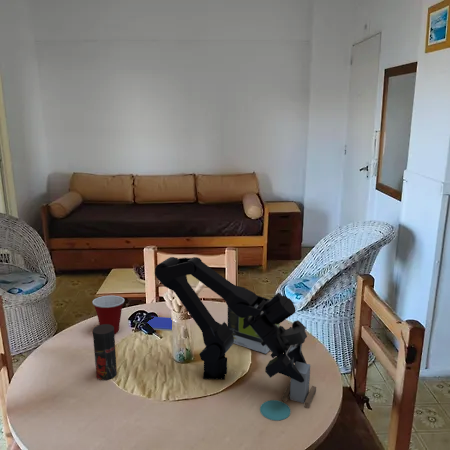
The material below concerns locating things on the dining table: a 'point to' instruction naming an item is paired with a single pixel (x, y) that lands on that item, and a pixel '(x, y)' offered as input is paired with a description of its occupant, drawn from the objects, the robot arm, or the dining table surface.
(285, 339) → the robot arm
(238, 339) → the tea box
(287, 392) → the pair of brown bars
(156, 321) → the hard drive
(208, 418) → the dining table surface
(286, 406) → the pad
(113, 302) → the plastic cup
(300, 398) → the grey block
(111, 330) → the deodorant
